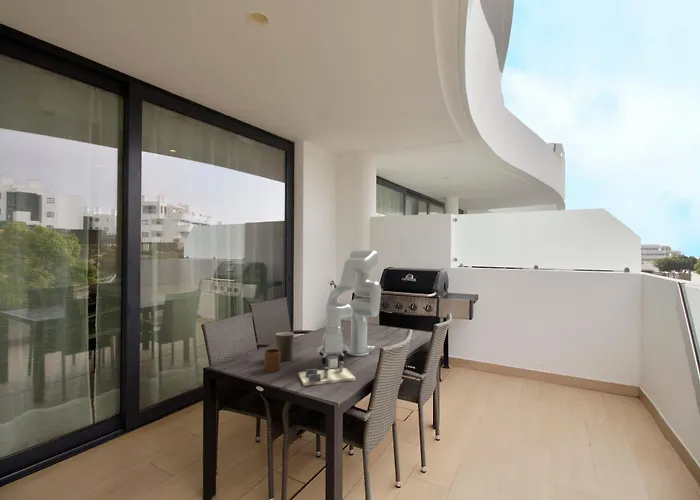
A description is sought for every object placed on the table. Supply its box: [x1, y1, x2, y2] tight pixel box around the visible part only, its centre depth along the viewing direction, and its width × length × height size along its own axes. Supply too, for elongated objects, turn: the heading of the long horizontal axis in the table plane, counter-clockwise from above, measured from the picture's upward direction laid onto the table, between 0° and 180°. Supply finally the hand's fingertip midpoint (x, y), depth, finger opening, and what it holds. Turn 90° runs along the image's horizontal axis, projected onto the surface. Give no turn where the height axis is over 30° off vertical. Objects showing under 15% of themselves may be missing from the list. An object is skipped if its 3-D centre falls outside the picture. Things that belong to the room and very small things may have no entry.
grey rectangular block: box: [327, 353, 339, 369], centre depth 175 cm, size 4×4×6 cm
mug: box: [264, 348, 281, 373], centre depth 170 cm, size 12×8×9 cm, turn 173°
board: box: [297, 360, 357, 386], centre depth 160 cm, size 24×14×6 cm, turn 109°
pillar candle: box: [274, 331, 294, 363], centre depth 186 cm, size 10×10×15 cm
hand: (332, 364), depth 175 cm, fingers open, 8 cm apart
